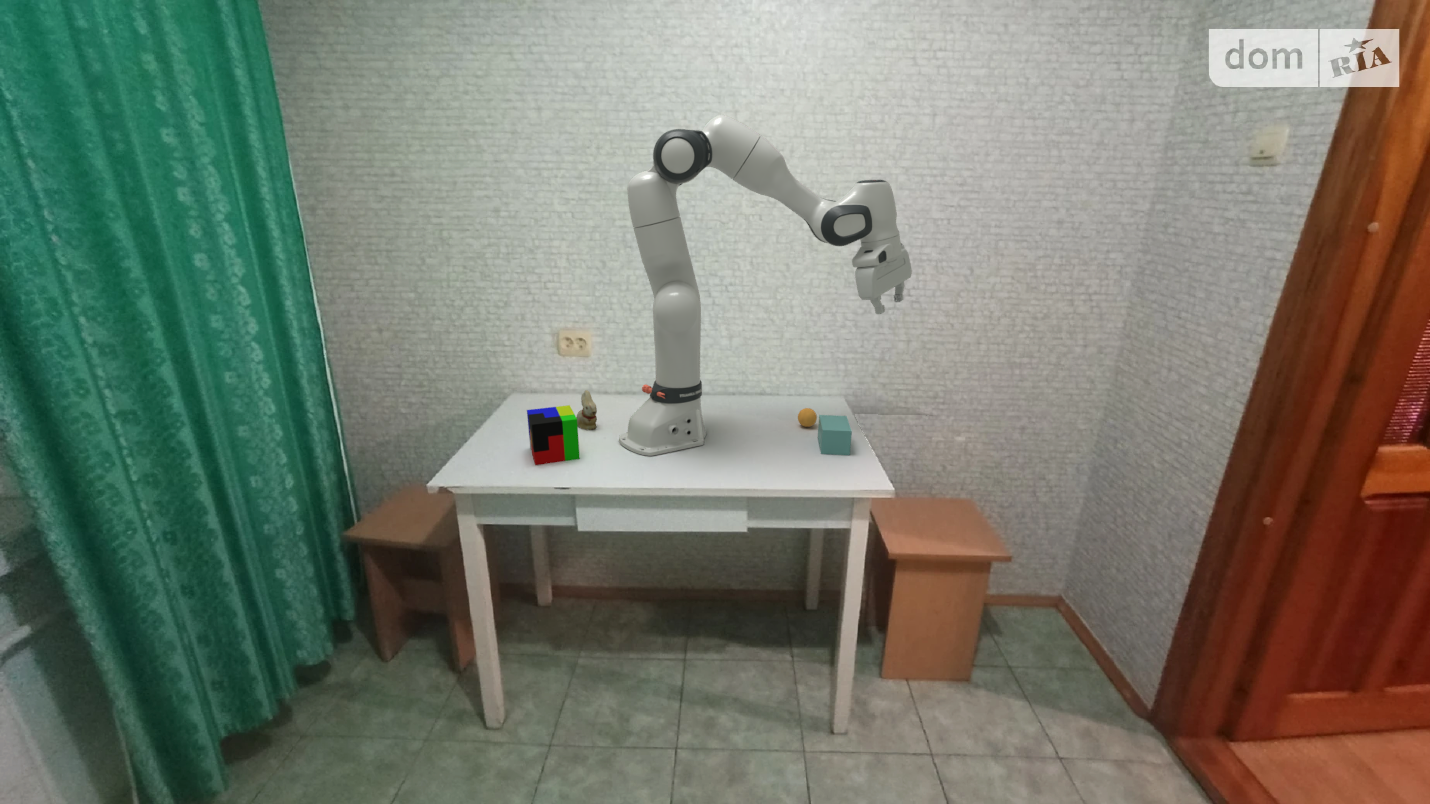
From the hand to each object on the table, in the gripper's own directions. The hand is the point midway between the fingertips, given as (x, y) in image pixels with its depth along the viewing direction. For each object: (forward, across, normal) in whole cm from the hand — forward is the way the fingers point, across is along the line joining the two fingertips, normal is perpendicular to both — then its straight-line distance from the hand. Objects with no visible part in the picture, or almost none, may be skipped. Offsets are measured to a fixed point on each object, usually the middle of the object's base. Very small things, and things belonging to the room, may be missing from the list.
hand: (889, 307), depth 152 cm
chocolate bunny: (+14, +52, -63) cm, 83 cm away
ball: (+26, +13, -21) cm, 36 cm away
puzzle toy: (+13, +68, -54) cm, 88 cm away
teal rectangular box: (+29, +20, -10) cm, 36 cm away
